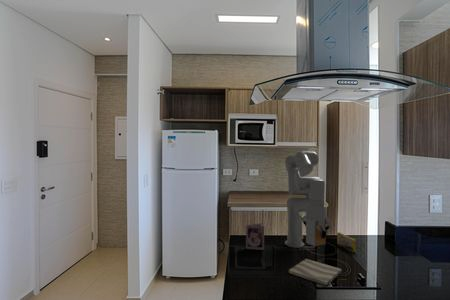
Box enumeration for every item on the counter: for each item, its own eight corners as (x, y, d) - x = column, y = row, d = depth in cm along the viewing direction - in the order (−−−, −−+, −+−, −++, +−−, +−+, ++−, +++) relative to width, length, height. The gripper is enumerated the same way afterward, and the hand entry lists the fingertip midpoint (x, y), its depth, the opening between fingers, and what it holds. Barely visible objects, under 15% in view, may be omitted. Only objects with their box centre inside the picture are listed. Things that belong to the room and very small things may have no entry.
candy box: (336, 244, 194) (337, 232, 194) (339, 244, 195) (339, 232, 195) (353, 253, 179) (353, 240, 179) (356, 253, 179) (356, 239, 179)
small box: (314, 246, 146) (315, 221, 145) (305, 242, 151) (306, 218, 151) (326, 244, 150) (326, 219, 149) (316, 240, 155) (317, 216, 155)
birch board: (305, 261, 165) (305, 258, 165) (341, 272, 152) (341, 269, 152) (288, 272, 150) (288, 270, 150) (326, 285, 136) (326, 282, 136)
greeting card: (245, 249, 183) (246, 225, 182) (246, 245, 190) (246, 222, 190) (264, 250, 181) (264, 226, 181) (263, 246, 188) (264, 223, 188)
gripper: (298, 201, 153) (297, 234, 153) (330, 206, 141) (329, 241, 142) (304, 199, 158) (303, 231, 159) (336, 204, 147) (335, 238, 147)
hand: (316, 235), depth 150 cm, fingers closed on small box, 7 cm apart
